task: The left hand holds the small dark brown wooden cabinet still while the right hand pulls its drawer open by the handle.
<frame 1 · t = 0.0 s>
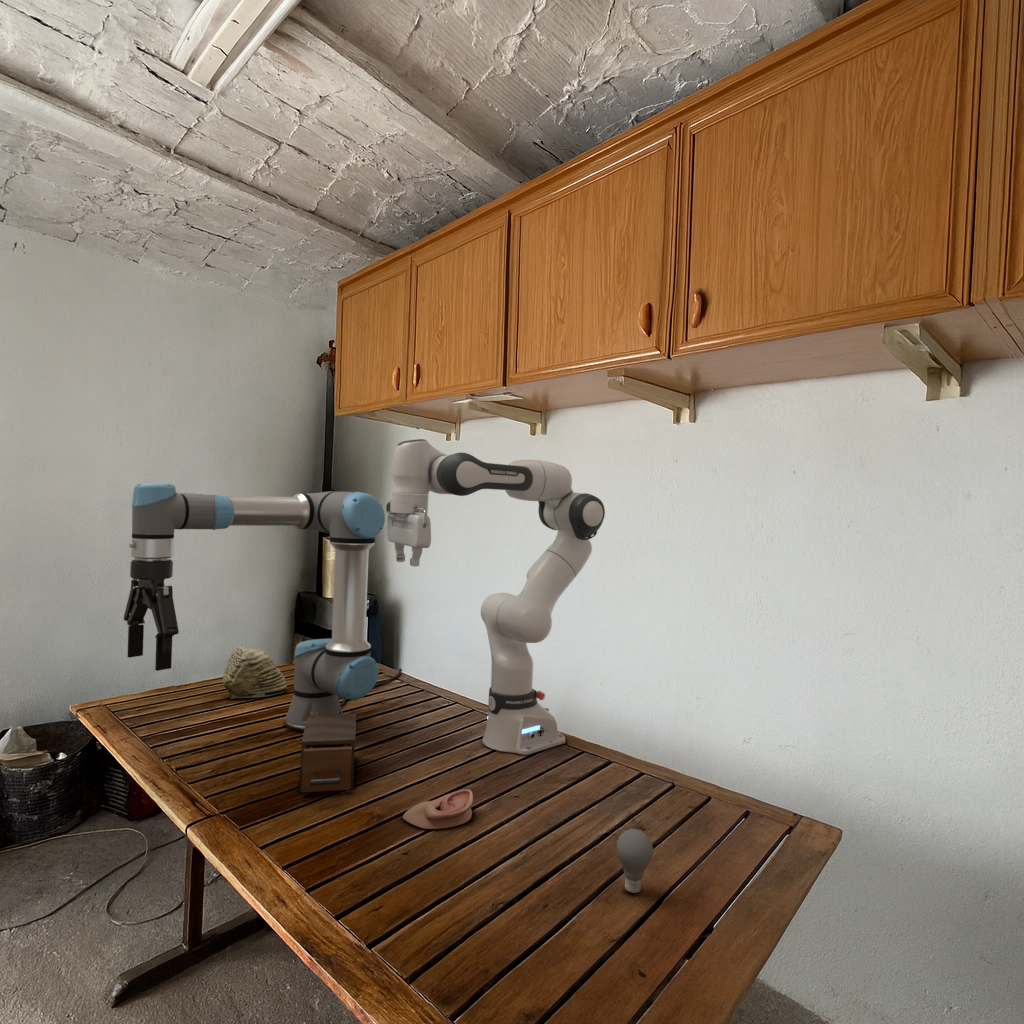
left hand: (148, 662, 129), 28 cm above the table, tool pointing down, fingers open, 13 cm apart
right hand: (407, 563, 152), 48 cm above the table, tool pointing down, fingers open, 8 cm apart
light bulb: (632, 891, 106), on the table
anatomical model: (438, 816, 128), on the table
cabinet: (328, 774, 145), on the table
fossil: (254, 694, 198), on the table
drawer: (328, 761, 139), point 5 cm above the table, slide at 1.4 cm
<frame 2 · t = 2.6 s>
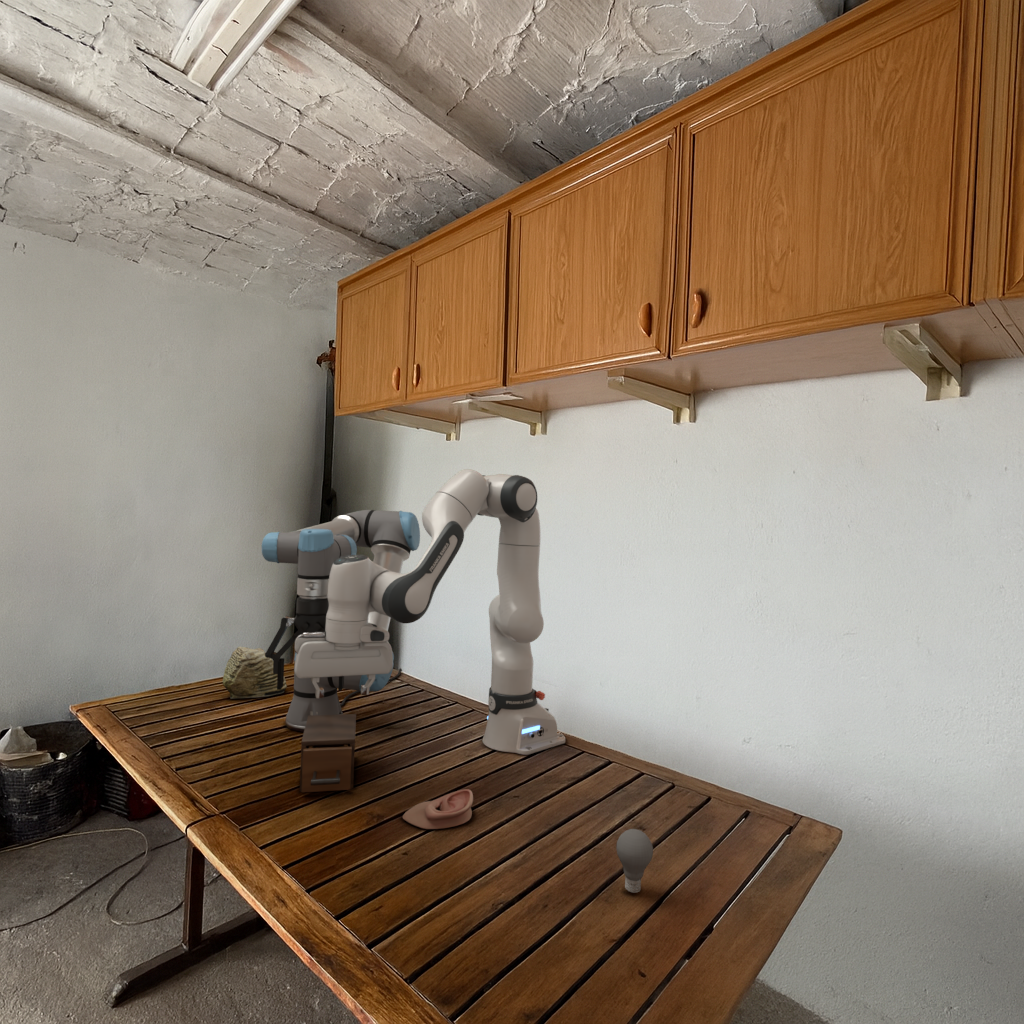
left hand: (310, 688, 146), 19 cm above the table, tool pointing down, fingers open, 13 cm apart
right hand: (342, 695, 135), 21 cm above the table, tool pointing down, fingers open, 8 cm apart
nothing on the table moved.
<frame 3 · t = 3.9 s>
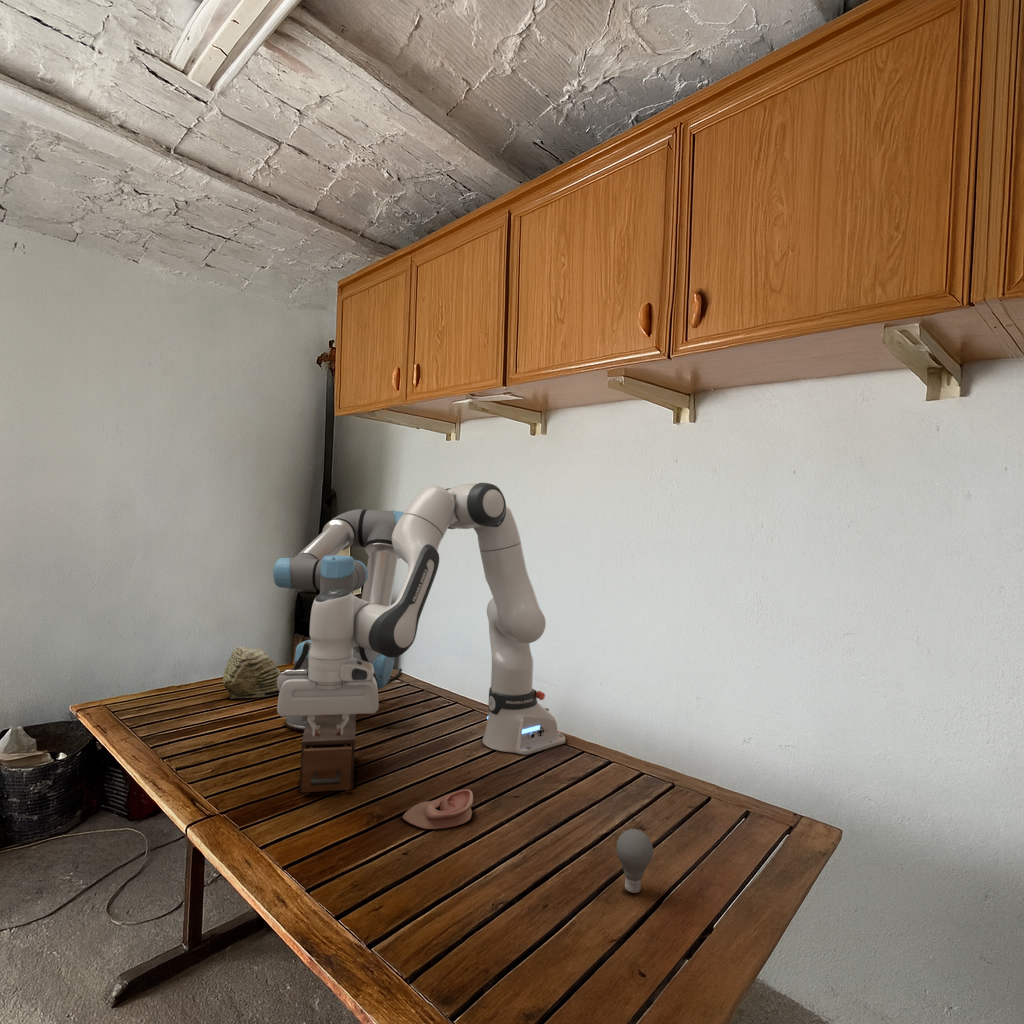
left hand: (331, 712, 148), 13 cm above the table, tool pointing down, fingers open, 13 cm apart
right hand: (328, 735, 131), 14 cm above the table, tool pointing down, fingers open, 3 cm apart
nothing on the table moved.
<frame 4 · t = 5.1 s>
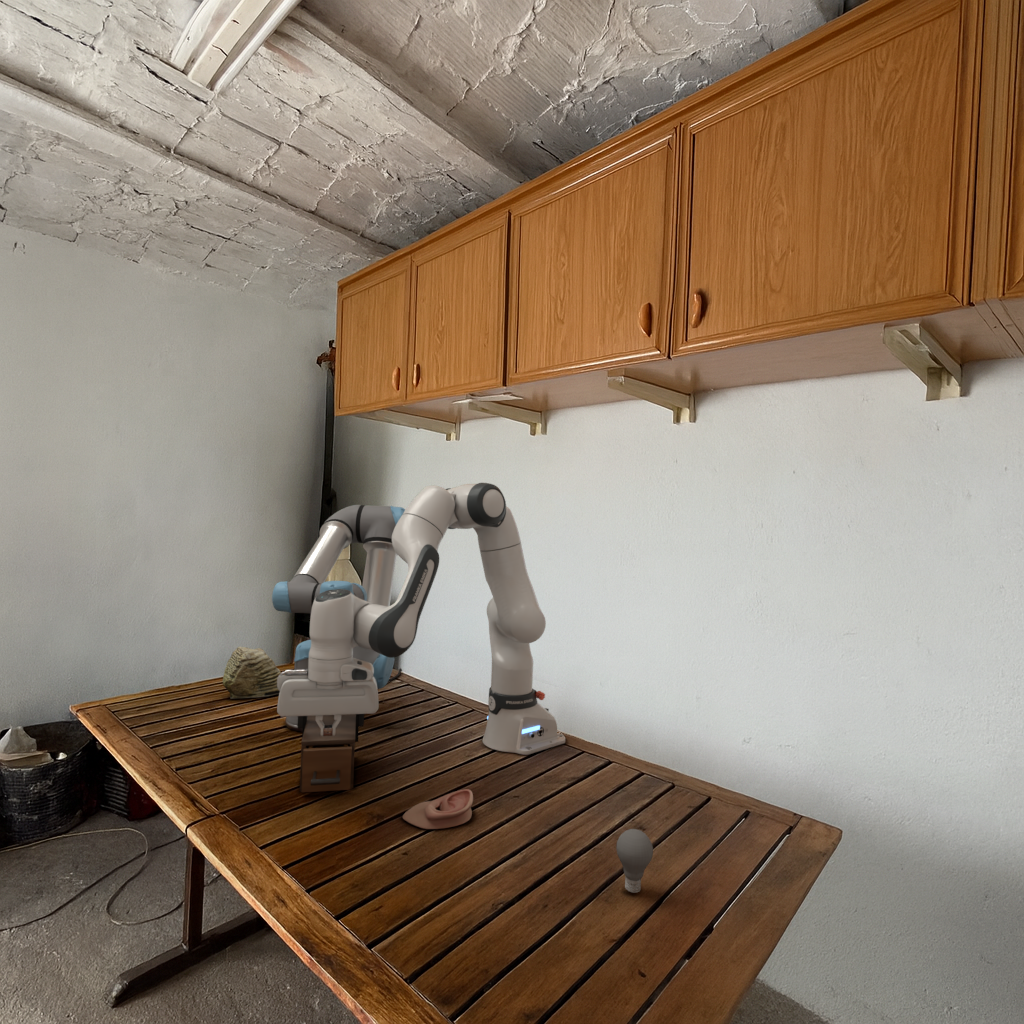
left hand: (330, 740, 148), 6 cm above the table, tool pointing down, fingers closed on cabinet, 11 cm apart
right hand: (328, 735, 131), 14 cm above the table, tool pointing down, fingers closed
cabinet: (328, 774, 145), on the table, touching left hand
everything else where it was.
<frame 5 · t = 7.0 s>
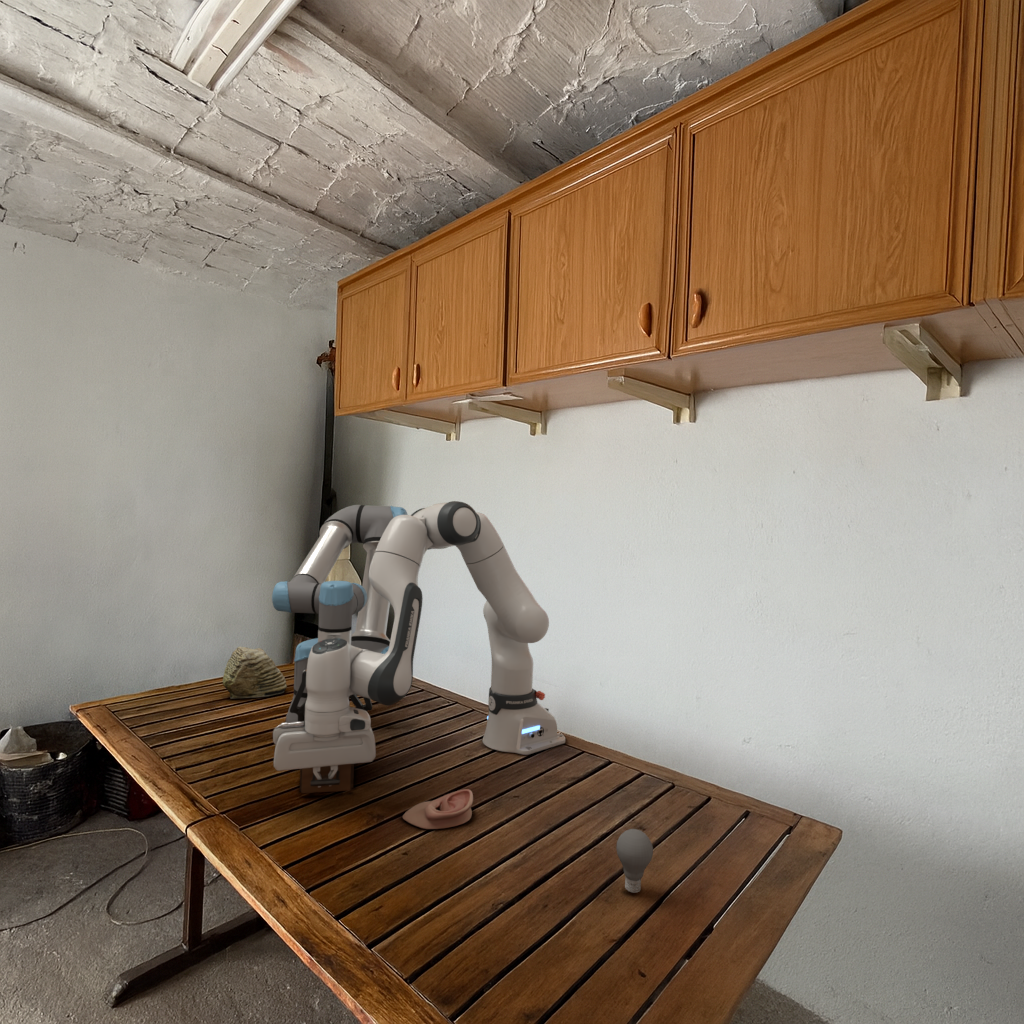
left hand: (330, 740, 148), 6 cm above the table, tool pointing down, fingers closed on cabinet, 11 cm apart
right hand: (324, 785, 131), 4 cm above the table, tool pointing down, fingers closed
cabinet: (328, 774, 145), on the table, touching left hand
drawer: (328, 761, 139), point 5 cm above the table, slide at 1.8 cm, touching right hand
everything else where it was.
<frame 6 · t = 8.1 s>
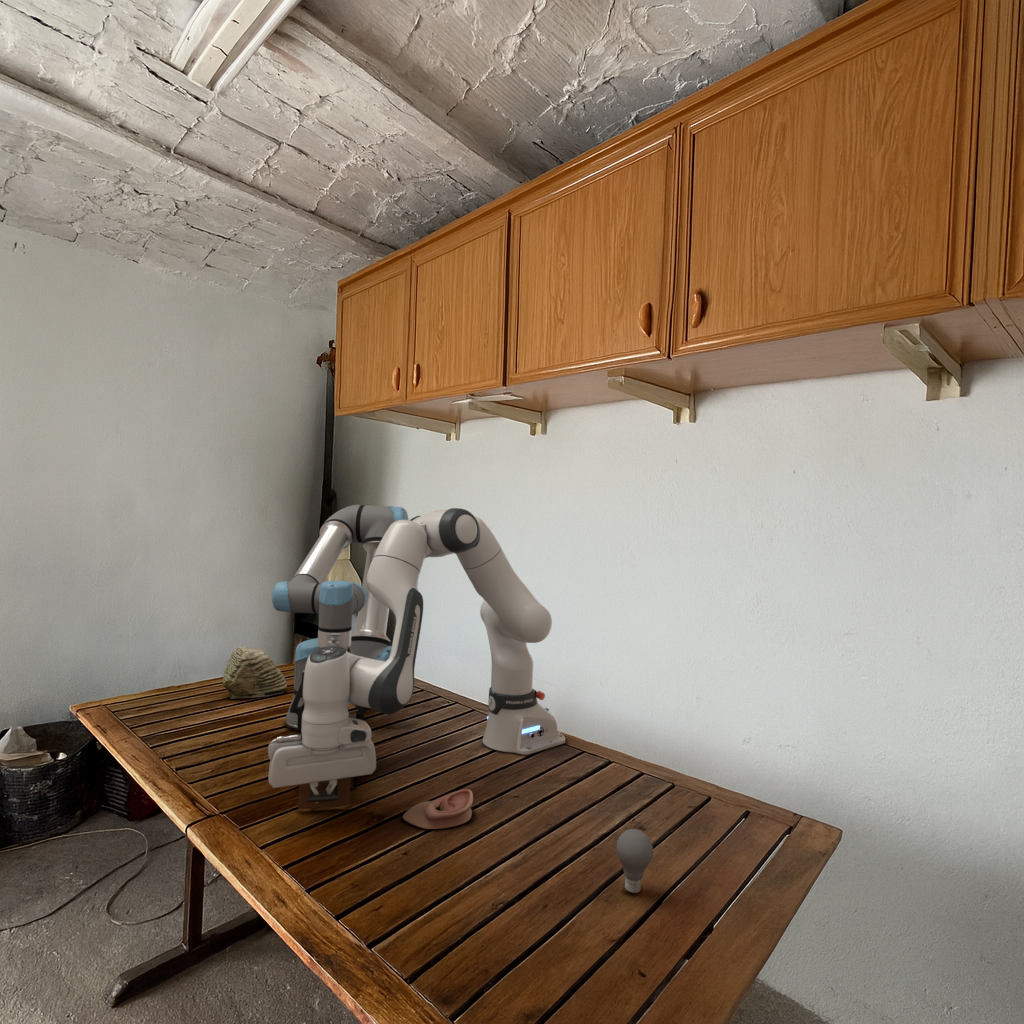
left hand: (330, 740, 148), 6 cm above the table, tool pointing down, fingers closed on cabinet, 11 cm apart
right hand: (322, 801, 124), 4 cm above the table, tool pointing down, fingers closed
cabinet: (328, 774, 145), on the table, touching left hand
drawer: (326, 775, 132), point 5 cm above the table, slide at 8.5 cm, touching right hand
everything else where it was.
when the left hand's fingers open (6 cm above the table, at t = 9.7 s): cabinet stays where it is, on the table.
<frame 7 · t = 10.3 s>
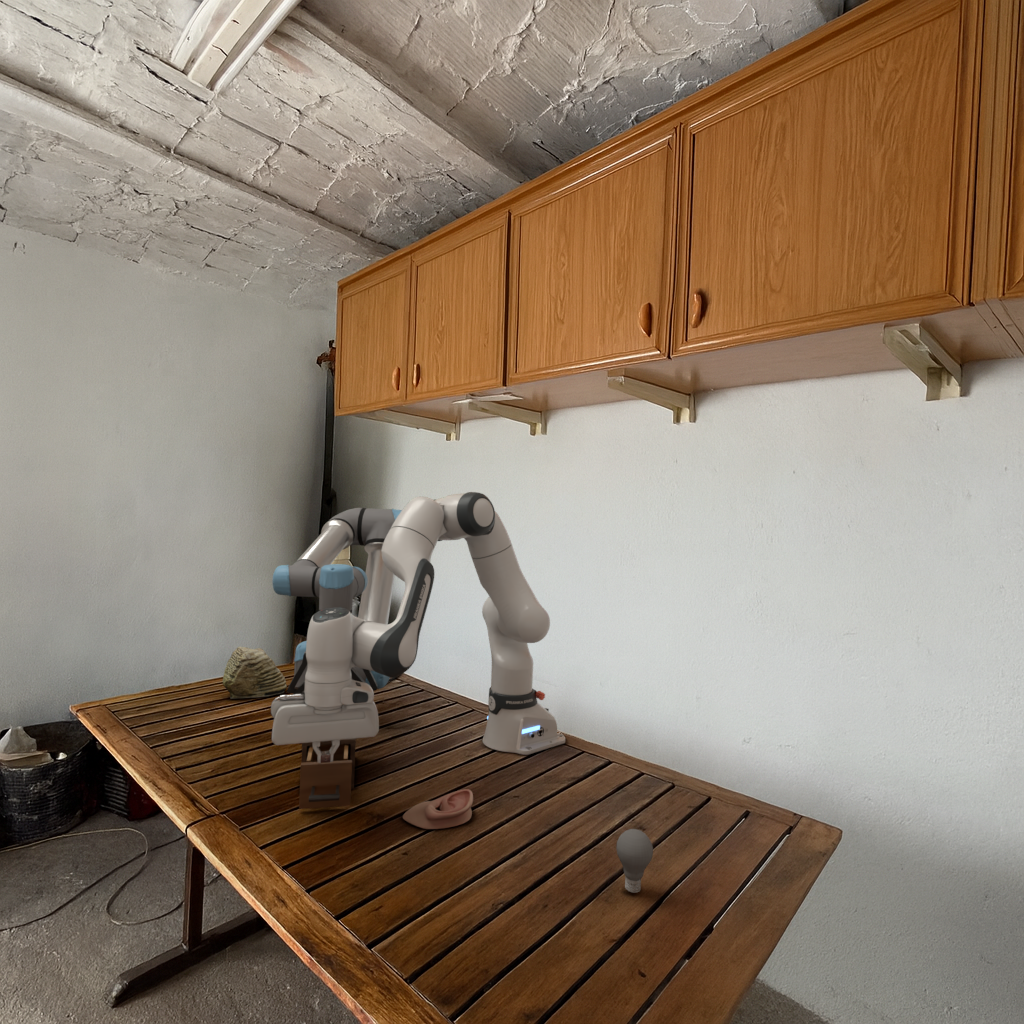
left hand: (332, 720, 149), 11 cm above the table, tool pointing down, fingers open, 13 cm apart
right hand: (325, 761, 125), 11 cm above the table, tool pointing down, fingers closed
cabinet: (329, 774, 145), on the table
drawer: (327, 775, 132), point 5 cm above the table, slide at 8.5 cm
everything else where it was.
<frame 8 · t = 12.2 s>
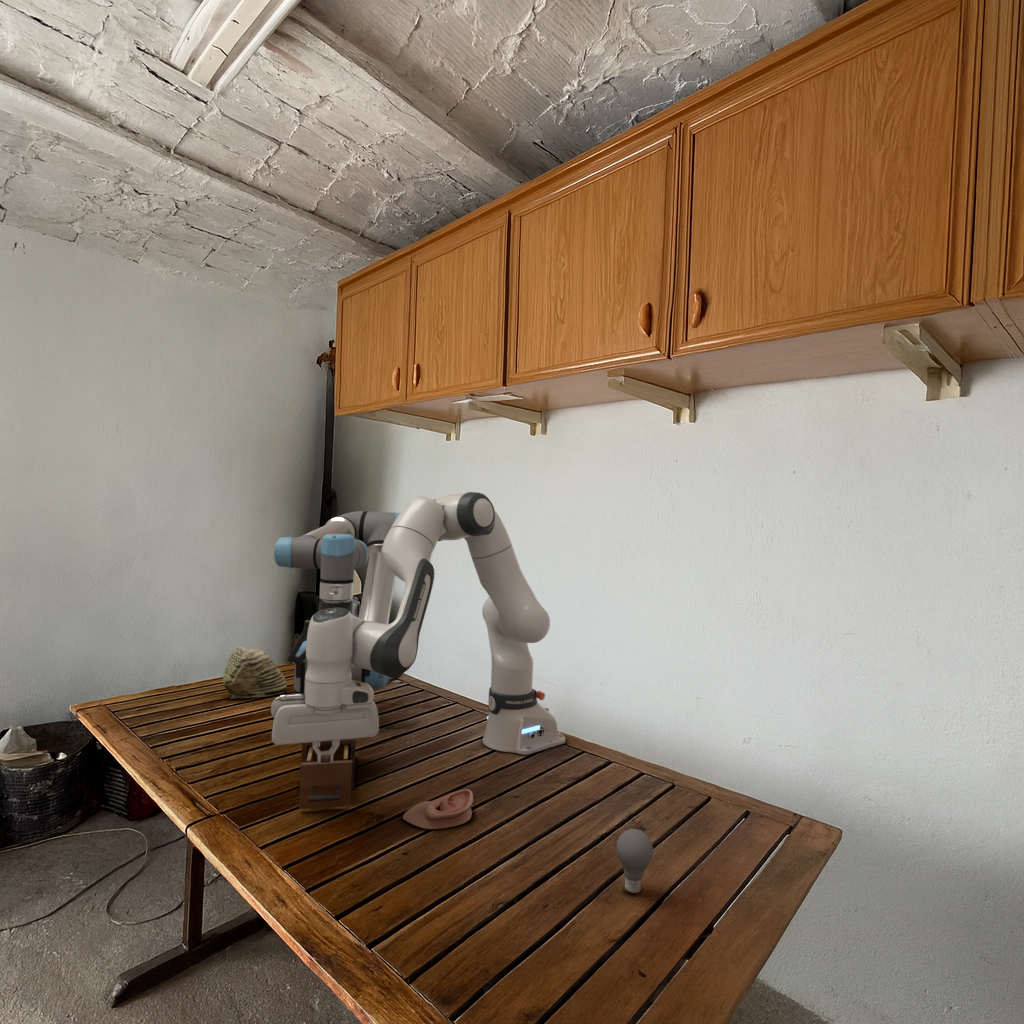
left hand: (332, 690, 148), 18 cm above the table, tool pointing down, fingers open, 13 cm apart
right hand: (325, 761, 125), 11 cm above the table, tool pointing down, fingers closed
nothing on the table moved.
at the end: drawer slide at 8.5 cm; cabinet tilted 0°; cabinet never tilted more than 1° during the clip; cabinet moved 0.1 cm from its start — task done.
